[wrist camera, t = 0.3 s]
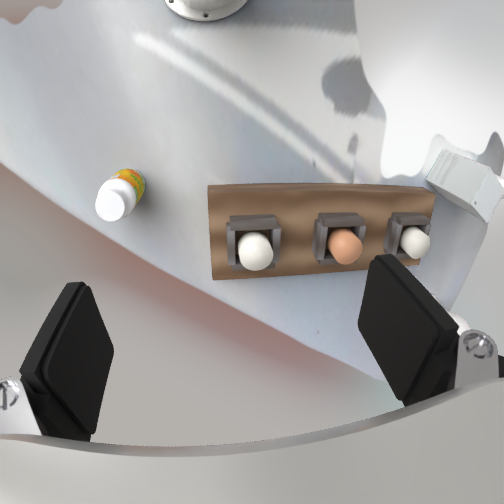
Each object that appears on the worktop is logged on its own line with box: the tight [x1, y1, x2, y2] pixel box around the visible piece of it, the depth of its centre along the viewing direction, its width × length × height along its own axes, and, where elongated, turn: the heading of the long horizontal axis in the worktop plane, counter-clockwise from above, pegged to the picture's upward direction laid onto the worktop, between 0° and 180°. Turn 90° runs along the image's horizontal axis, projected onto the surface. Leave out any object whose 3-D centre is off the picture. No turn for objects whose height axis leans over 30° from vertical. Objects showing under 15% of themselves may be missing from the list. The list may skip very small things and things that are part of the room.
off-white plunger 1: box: [238, 231, 273, 271], centre depth 41 cm, size 4×4×3 cm
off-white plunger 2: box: [399, 226, 430, 259], centre depth 44 cm, size 4×4×3 cm
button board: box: [208, 183, 436, 280], centre depth 47 cm, size 14×38×7 cm, turn 90°
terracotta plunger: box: [327, 228, 363, 265], centre depth 43 cm, size 4×4×3 cm
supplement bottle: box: [96, 168, 145, 222], centre depth 38 cm, size 5×5×10 cm
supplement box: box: [426, 150, 504, 223], centre depth 42 cm, size 7×7×13 cm
